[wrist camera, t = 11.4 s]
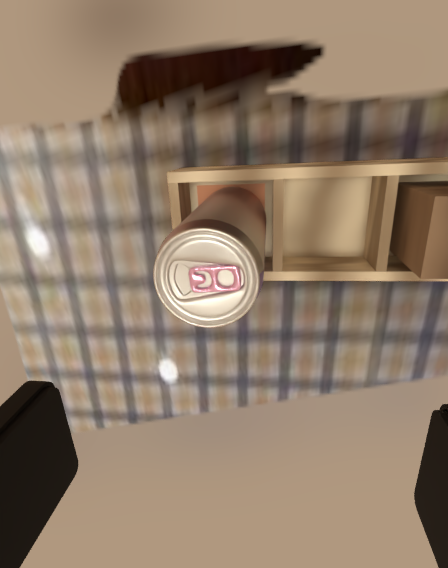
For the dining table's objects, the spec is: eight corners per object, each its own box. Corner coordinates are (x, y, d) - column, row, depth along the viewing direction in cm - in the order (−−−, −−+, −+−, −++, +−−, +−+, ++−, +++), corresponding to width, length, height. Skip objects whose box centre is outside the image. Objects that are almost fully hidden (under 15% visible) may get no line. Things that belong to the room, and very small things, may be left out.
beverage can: (268, 248, 32) (266, 329, 19) (205, 252, 33) (159, 332, 20) (264, 182, 30) (259, 219, 17) (197, 188, 31) (139, 228, 17)
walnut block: (464, 180, 28) (532, 194, 21) (451, 245, 30) (509, 279, 23) (393, 182, 29) (435, 196, 22) (385, 246, 31) (420, 278, 24)
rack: (486, 155, 28) (528, 158, 24) (462, 264, 32) (494, 284, 27) (181, 167, 32) (166, 172, 27) (190, 264, 35) (177, 283, 31)
